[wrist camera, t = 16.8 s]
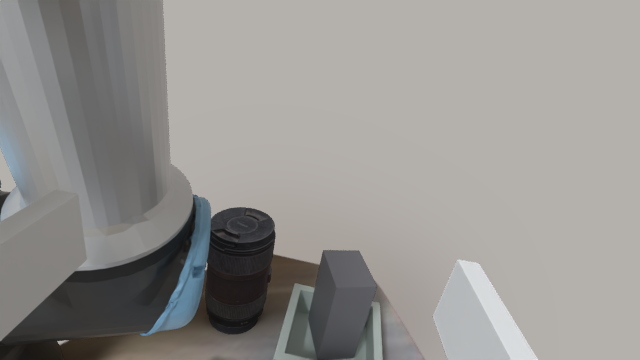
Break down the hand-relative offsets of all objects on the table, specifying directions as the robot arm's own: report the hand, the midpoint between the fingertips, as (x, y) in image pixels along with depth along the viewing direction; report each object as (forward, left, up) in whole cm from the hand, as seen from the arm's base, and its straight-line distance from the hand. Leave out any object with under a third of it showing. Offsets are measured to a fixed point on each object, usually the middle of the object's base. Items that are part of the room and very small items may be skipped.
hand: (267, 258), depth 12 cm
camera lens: (-24, +7, -30) cm, 39 cm away
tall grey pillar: (-14, +16, -29) cm, 36 cm away
